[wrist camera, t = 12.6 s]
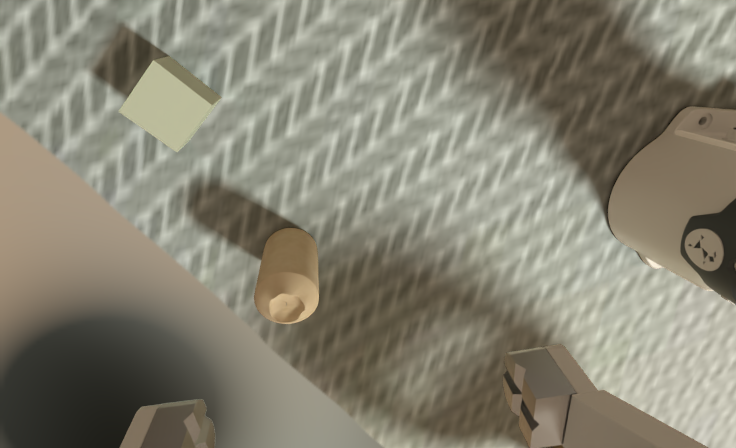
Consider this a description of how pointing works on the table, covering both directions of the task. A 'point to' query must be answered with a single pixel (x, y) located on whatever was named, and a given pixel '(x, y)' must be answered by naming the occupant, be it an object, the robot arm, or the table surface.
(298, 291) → the candle
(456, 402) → the table surface
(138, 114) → the sage block
